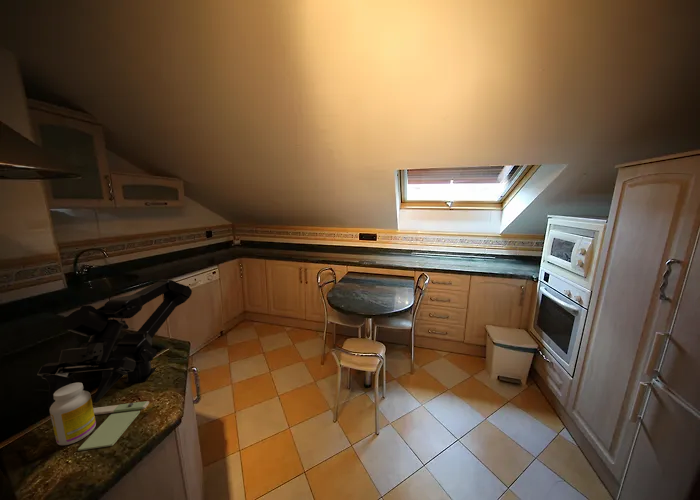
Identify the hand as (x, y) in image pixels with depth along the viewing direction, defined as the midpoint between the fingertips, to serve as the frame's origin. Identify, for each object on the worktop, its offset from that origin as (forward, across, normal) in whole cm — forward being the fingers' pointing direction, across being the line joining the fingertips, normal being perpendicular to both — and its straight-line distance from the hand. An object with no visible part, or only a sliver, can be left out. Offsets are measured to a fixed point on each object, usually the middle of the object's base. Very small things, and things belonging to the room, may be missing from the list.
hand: (72, 405), depth 59 cm
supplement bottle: (+6, 0, +6) cm, 8 cm away
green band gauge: (+5, +4, +6) cm, 9 cm away
